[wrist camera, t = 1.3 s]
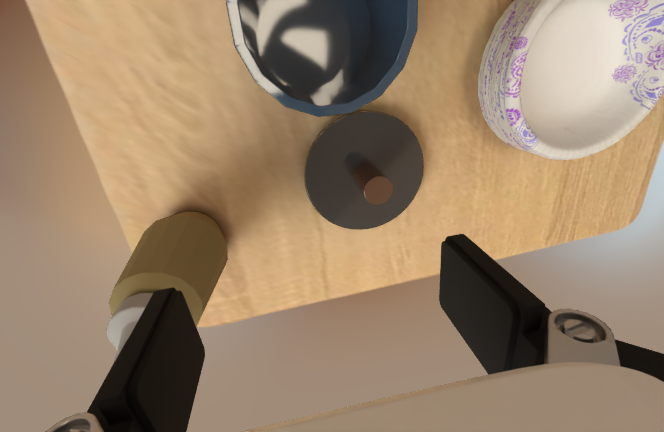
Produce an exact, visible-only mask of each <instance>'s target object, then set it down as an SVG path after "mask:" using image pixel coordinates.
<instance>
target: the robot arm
mask: <svg viewBox="0 0 664 432" xmlns="http://www.w3.org/2000/svg"><path fill="white" fill-rule="evenodd" d="M439 300H440V305H441V307H442V309H443V310H444V312H445V313H446V314H447V316H448V317H449V319H450V320H451V322H452V323H453V324H454V326H455V327H456V329H457V330H458V331H459V333H460V334H461V336H462V337H463V339H464V340H465V342H466V343H467V344H468V346H469V347H470V349H471V350H472V351H473V353H474V354H475V356H476V357H477V359H478V360H479V361H480V363H481V364H482V366H483V367H484V369H485V370H486V371H487V373H488V374H489V375H486V376H481V377H476V378H471V379H467V380H463V381H458V382H454V383H449V384H445V385H440V386H436V387H431V388H427V389H422V390H418V391H414V392H409V393H405V394H401V395H396V396H392V397H388V398H383V399H379V400H374V401H370V402H366V403H362V404H357V405H353V406H348V407H344V408H340V409H336V410H331V411H328V412H323V413H319V414H314V415H310V416H306V417H302V418H297V419H293V420H289V421H285V422H280V423H277V424H272V425H268V426H264V427H260V428H255V429H251V430H247V431H243V432H664V354H662V353H659V352H655V351H652V350H649V349H645V348H642V347H638V346H635V345H632V344H628V343H625V342H622V341H618V340H615V339H614V335H613V333H612V331H611V329H610V328H609V327H608V326H607V325H606V324H605V323H604V322H602V321H601V320H600V319H598V318H597V317H595V316H593V315H590V314H588V313H586V312H582V311H579V310H573V309H559V310H555V311H553V312H551V311H550V310H549V309H548V308H546V307H545V304H544V303H543V302H542V301H541V300H539V299H538V298H537V297H536V296H535V295H534V294H533V293H531V292H530V291H529V290H528V289H527V288H526V287H524V286H523V285H522V284H521V283H520V282H519V281H517V280H516V279H515V278H514V277H513V276H512V275H511V274H509V273H508V272H507V271H506V270H505V269H504V268H502V267H501V266H500V265H499V264H498V263H497V262H496V261H494V260H493V259H492V258H491V257H490V256H489V255H487V254H486V253H485V252H484V251H483V250H482V249H480V248H479V247H478V246H477V245H476V244H475V243H474V242H472V241H471V240H470V239H469V238H468V237H467V236H465V235H464V234H459V235H453V236H448V237H447V238H446V240H445V241H443V242H442V246H441V270H440V295H439ZM204 357H205V350H204V346H203V344H202V341H201V338H200V336H199V333H198V331H197V328H196V326H195V323H194V321H193V318H192V315H191V313H190V310H189V308H188V305H187V303H186V300H185V298H184V295H183V293H182V291H180V290H179V291H177V290H176V289H175V288H173V287H172V288H167V289H161V290H156V291H155V292H154V293H153V295H152V296H151V298H150V300H149V302H148V304H147V306H146V307H145V309H144V311H143V313H142V315H141V316H140V318H139V320H138V322H137V324H136V325H135V327H134V329H133V331H132V333H131V335H130V336H129V338H128V339H127V341H126V342H125V344H124V346H123V348H122V350H121V351H120V353H119V355H118V357H117V359H116V360H115V362H114V364H113V366H112V368H111V370H110V372H109V373H108V375H107V377H106V379H105V380H104V382H103V384H102V386H101V388H100V389H99V391H98V393H97V395H96V397H95V399H94V400H93V402H92V404H91V406H90V407H89V409H88V411H87V413H86V412H85V413H78V414H75V415H72V416H69V417H67V418H65V419H63V420H61V421H60V422H58V423H56V424H55V425H53V426H52V427H51V428H49V430H47V431H46V432H186V430H187V426H188V422H189V418H190V414H191V410H192V406H193V402H194V398H195V394H196V390H197V386H198V382H199V378H200V374H201V370H202V366H203V361H204Z"/></svg>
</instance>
